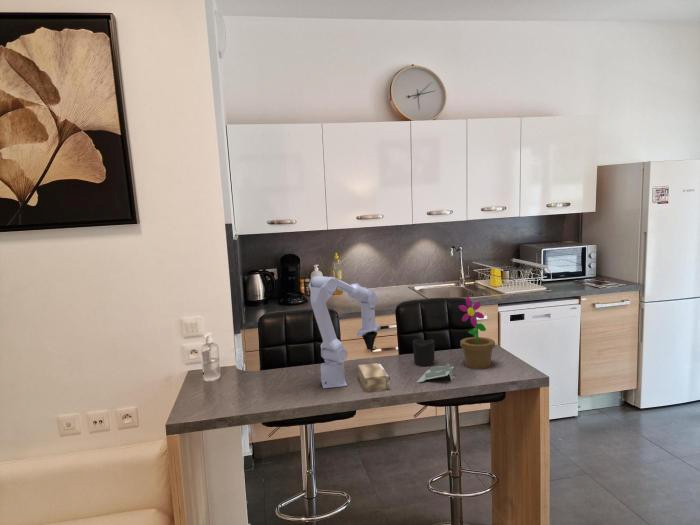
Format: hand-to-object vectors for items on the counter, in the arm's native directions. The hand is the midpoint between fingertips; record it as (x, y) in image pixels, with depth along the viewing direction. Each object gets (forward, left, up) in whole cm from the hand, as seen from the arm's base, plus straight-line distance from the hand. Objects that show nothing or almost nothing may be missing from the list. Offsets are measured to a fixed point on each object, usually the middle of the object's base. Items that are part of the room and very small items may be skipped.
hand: (369, 349), depth 206 cm
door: (+2, -12, -9) cm, 15 cm away
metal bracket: (+24, -17, -10) cm, 31 cm away
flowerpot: (+45, -7, -10) cm, 47 cm away
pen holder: (+24, +2, -10) cm, 26 cm away
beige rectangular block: (-3, -16, -9) cm, 19 cm away
